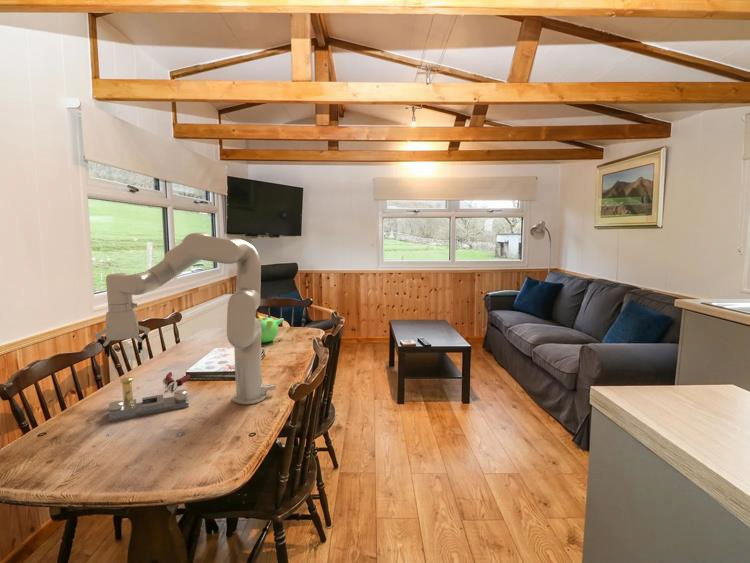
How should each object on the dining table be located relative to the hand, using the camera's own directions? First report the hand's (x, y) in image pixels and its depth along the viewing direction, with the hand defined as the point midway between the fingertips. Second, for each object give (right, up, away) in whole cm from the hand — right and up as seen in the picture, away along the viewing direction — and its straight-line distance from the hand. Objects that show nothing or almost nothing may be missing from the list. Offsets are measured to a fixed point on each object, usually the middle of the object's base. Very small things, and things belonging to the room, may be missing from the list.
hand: (124, 354), depth 151 cm
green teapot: (+29, -8, +83) cm, 88 cm away
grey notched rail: (+12, -19, -4) cm, 23 cm away
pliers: (+7, -16, +22) cm, 28 cm away
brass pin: (0, -18, +2) cm, 18 cm away
